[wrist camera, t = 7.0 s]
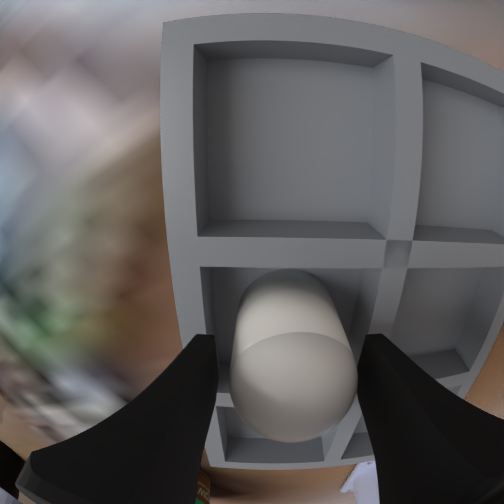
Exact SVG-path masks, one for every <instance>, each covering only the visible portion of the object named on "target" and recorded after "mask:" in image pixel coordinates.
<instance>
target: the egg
mask: <svg viewBox="0 0 504 504" xmlns="http://www.w3.org/2000/svg"><path fill="white" fill-rule="evenodd" d="M357 386H358V372H357V366H356V362H355V359H354V356H353V354H352V351H351V348H350V345H349V343H348V340H347V337H346V334H345V332H344V329H343V326H342V324H341V321H340V319H339V316H338V313H337V311H336V308H335V306H334V303H333V300H332V298H331V295H330V293H329V291H328V289H327V288H326V286H325V285H324V284H323V283H322V282H321V281H320V280H319V279H318V278H316V277H315V276H313V275H311V274H309V273H306V272H303V271H299V270H291V269H285V270H277V271H273V272H269V273H267V274H265V275H262V276H261V277H259V278H257V279H256V280H254V281H253V282H252V283H251V284H250V285H249V286H248V287H247V288H246V290H245V291H244V292H243V294H242V296H241V299H240V301H239V306H238V313H237V320H236V328H235V335H234V342H233V350H232V357H231V365H230V372H229V392H230V397H231V400H232V403H233V406H234V408H235V410H236V412H237V414H238V415H239V417H240V418H241V419H242V420H243V422H244V423H245V424H246V425H247V426H248V427H250V428H251V429H252V430H253V431H255V432H256V433H258V434H259V435H261V436H264V437H266V438H268V439H271V440H274V441H279V442H286V443H297V442H304V441H309V440H312V439H315V438H317V437H319V436H322V435H324V434H325V433H327V432H329V431H330V430H332V429H333V428H334V427H335V426H336V425H338V424H339V423H340V422H341V421H342V419H343V418H344V417H345V416H346V414H347V413H348V411H349V410H350V408H351V406H352V404H353V402H354V399H355V396H356V392H357Z"/></svg>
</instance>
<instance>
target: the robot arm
mask: <svg viewBox="0 0 504 504" xmlns="http://www.w3.org/2000/svg"><path fill="white" fill-rule="evenodd" d="M357 372H358V386H357V396H358V401H359V405H360V408H361V411H362V415H363V418H364V421H365V425H366V428H367V431H368V435H369V438H370V442H371V445H372V449H373V453H374V458H375V461H370V462H364V463H358V464H357V465H356V467H355V468H354V470H353V471H352V473H351V475H350V476H349V478H348V479H347V480H346V482H345V483H344V485H343V486H342V488H341V489H340V490H341V492H342V493H344V492H351V491H354V498H355V504H504V420H503V419H501V418H498V417H496V416H494V415H491V414H489V413H487V412H485V411H483V410H481V409H479V408H477V407H475V406H474V405H472V404H470V403H468V402H467V401H465V400H463V399H462V398H460V397H459V396H457V395H456V394H454V393H453V392H451V391H450V390H448V389H447V388H445V387H444V386H443V385H441V384H440V383H439V382H438V381H436V380H435V379H434V378H432V377H431V376H430V375H429V374H428V373H426V372H425V371H424V370H423V369H422V368H420V367H419V366H418V365H417V364H416V363H415V362H413V361H412V360H411V359H410V358H409V357H408V356H407V355H406V354H405V353H403V352H402V351H401V350H400V349H399V348H398V347H397V346H396V345H395V344H394V343H392V342H391V341H390V340H389V339H388V338H387V337H386V336H384V335H383V334H382V333H380V334H366V336H365V339H364V343H363V347H362V351H361V354H360V358H359V362H358V365H357ZM218 381H219V373H218V364H217V354H216V344H215V335H209V334H196V335H195V336H194V337H193V338H192V339H191V340H190V342H189V343H188V344H187V345H186V347H185V348H184V349H183V350H182V351H181V352H180V354H179V355H178V356H177V357H176V358H175V359H174V360H173V362H172V363H171V364H170V365H169V366H168V367H167V368H166V369H165V370H164V371H163V372H162V373H161V374H160V375H159V376H158V377H157V378H156V379H155V380H154V381H153V382H152V383H151V384H150V385H149V386H148V387H147V388H146V389H145V390H143V391H142V392H141V393H140V394H139V395H138V396H137V397H135V398H134V399H133V400H132V401H130V402H129V403H128V404H127V405H125V406H124V407H123V408H121V409H120V410H118V411H117V412H115V413H114V414H112V415H111V416H110V417H108V418H107V419H105V420H103V421H102V422H100V423H98V424H97V425H95V426H93V427H92V428H90V429H88V430H86V431H84V432H82V433H80V434H78V435H76V436H74V437H71V438H69V439H67V440H65V441H62V442H60V443H57V444H54V445H51V446H48V447H45V448H42V449H39V450H36V451H33V452H32V453H31V454H30V456H29V458H28V459H27V461H26V463H25V465H24V467H23V469H22V471H21V473H20V474H19V476H18V478H17V480H16V482H15V485H16V487H17V489H18V490H19V491H21V492H22V493H23V494H24V495H25V496H27V497H28V498H29V499H31V500H32V501H34V502H35V503H36V504H195V502H196V493H197V485H198V477H199V470H200V463H201V458H202V453H203V449H204V446H205V442H206V438H207V434H208V430H209V427H210V423H211V419H212V415H213V411H214V407H215V403H216V397H217V389H218ZM0 504H22V503H21V502H20V501H18V500H17V499H15V498H14V497H13V496H11V495H10V494H9V493H7V492H6V491H5V490H3V489H2V488H0Z"/></svg>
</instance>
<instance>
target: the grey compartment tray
mask: <svg viewBox="0 0 504 504" xmlns="http://www.w3.org/2000/svg"><path fill="white" fill-rule="evenodd" d="M160 129H161V160H162V179H163V195H164V208H165V220H166V231H167V241H168V250H169V259H170V267H171V275H172V283H173V290H174V297H175V304H176V311H177V317H178V323H179V329H180V335H181V341H182V346H183V349H184V348H185V347H186V345H187V344H188V343H189V342H190V340H191V339H192V338H193V337H194V336H195V335H196V334H209V335H215V344H216V354H217V364H218V373H219V381H218V389H217V397H216V403H215V407H214V411H213V415H212V419H211V423H210V427H209V430H208V434H207V438H206V442H205V449H206V452H207V456H208V460H209V463H210V466H211V467H222V468H235V469H256V470H289V469H310V468H323V467H334V466H342V465H350V464H357V463H364V462H370V461H375V458H374V453H373V449H372V445H371V442H370V438H369V435H368V431H367V428H366V425H365V421H364V418H363V415H362V411H361V408H360V405H359V401H358V396H357V392H356V396H355V399H354V402H353V404H352V406H351V408H350V410H349V411H348V413H347V414H346V416H345V417H344V418H343V419H342V421H341V422H340V423H339V424H338V425H336V426H335V427H334V428H333V429H332V430H330V431H329V432H327V433H325V434H324V435H322V436H319V437H317V438H315V439H312V440H309V441H304V442H297V443H286V442H279V441H274V440H271V439H268V438H266V437H264V436H261V435H259V434H258V433H256V432H255V431H253V430H252V429H251V428H250V427H248V426H247V425H246V424H245V423H244V422H243V420H242V419H241V418H240V417H239V415H238V414H237V412H236V410H235V408H234V406H233V403H232V400H231V397H230V392H229V372H230V365H231V357H232V350H233V342H234V335H235V328H236V320H237V313H238V306H239V301H240V299H241V296H242V294H243V292H244V291H245V290H246V288H247V287H248V286H249V285H250V284H251V283H252V282H253V281H254V280H256V279H257V278H259V277H261V276H262V275H265V274H267V273H269V272H273V271H277V270H285V269H291V270H299V271H303V272H306V273H309V274H311V275H313V276H315V277H316V278H318V279H319V280H320V281H321V282H322V283H323V284H324V285H325V286H326V288H327V289H328V291H329V293H330V295H331V298H332V300H333V303H334V306H335V308H336V311H337V313H338V316H339V319H340V321H341V324H342V326H343V329H344V332H345V334H346V337H347V340H348V343H349V345H350V348H351V351H352V354H353V356H354V359H355V362H356V366H357V365H358V362H359V358H360V354H361V351H362V347H363V343H364V339H365V336H366V334H380V333H382V334H383V335H384V336H386V337H387V338H388V339H389V340H390V341H391V342H392V343H394V344H395V345H396V346H397V347H398V348H399V349H400V350H401V351H402V352H403V353H405V354H406V355H407V356H408V357H409V358H410V359H411V360H412V361H413V362H415V363H416V364H417V365H418V366H419V367H420V368H422V369H423V370H424V371H425V372H426V373H428V374H429V375H430V376H431V377H432V378H434V379H435V380H436V381H438V382H439V383H440V384H441V385H443V386H444V387H445V388H447V389H448V390H450V391H451V392H453V393H454V394H456V395H457V396H459V397H460V398H462V399H463V400H464V398H465V396H466V395H467V393H468V391H469V390H470V388H471V386H472V385H473V383H474V381H475V380H476V378H477V376H478V374H479V372H480V371H481V369H482V367H483V365H484V363H485V361H486V359H487V357H488V355H489V353H490V351H491V349H492V347H493V345H494V343H495V341H496V339H497V336H498V334H499V332H500V330H501V327H502V325H503V322H504V72H503V71H501V70H500V69H498V68H496V67H494V66H492V65H490V64H488V63H486V62H484V61H481V60H479V59H477V58H475V57H473V56H470V55H468V54H466V53H463V52H461V51H459V50H456V49H454V48H451V47H448V46H446V45H443V44H440V43H438V42H435V41H432V40H429V39H426V38H423V37H419V36H416V35H413V34H409V33H406V32H402V31H399V30H395V29H391V28H387V27H382V26H378V25H373V24H368V23H363V22H358V21H352V20H346V19H339V18H332V17H323V16H314V15H301V14H283V13H244V14H225V15H213V16H203V17H195V18H187V19H180V20H174V21H168V22H163V32H162V50H161V79H160Z"/></svg>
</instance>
